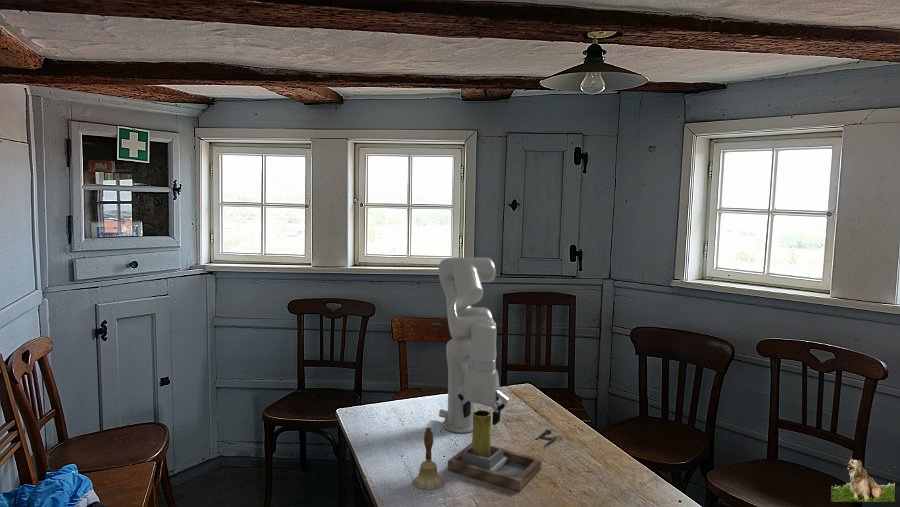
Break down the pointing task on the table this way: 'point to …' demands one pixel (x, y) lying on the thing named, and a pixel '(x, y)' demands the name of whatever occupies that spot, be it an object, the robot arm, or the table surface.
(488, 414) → the vase
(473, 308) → the robot arm
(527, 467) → the open wooden box
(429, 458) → the hand bell
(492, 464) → the square serving tray
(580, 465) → the table surface
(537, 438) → the hacksaw
